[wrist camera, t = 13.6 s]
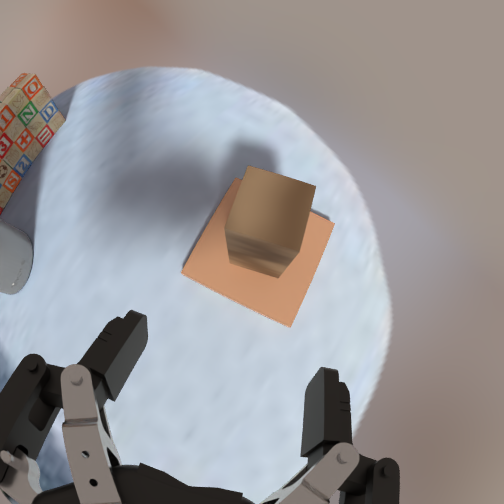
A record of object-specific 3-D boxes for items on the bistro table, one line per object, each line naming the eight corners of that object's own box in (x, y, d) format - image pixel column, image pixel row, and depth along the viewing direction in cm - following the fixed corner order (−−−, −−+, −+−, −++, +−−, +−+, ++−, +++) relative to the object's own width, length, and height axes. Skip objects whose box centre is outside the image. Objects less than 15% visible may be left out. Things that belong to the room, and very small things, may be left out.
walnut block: (229, 263, 27) (224, 228, 17) (245, 218, 28) (248, 165, 19) (278, 278, 27) (299, 251, 17) (291, 232, 28) (316, 186, 18)
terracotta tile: (183, 275, 28) (180, 272, 26) (235, 182, 31) (235, 177, 30) (288, 327, 27) (290, 327, 26) (331, 227, 30) (334, 223, 29)
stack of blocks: (-4, 226, 28) (-53, 197, 16) (-15, 212, 29) (-58, 183, 17) (66, 120, 33) (35, 72, 22) (51, 114, 34) (21, 71, 22)
